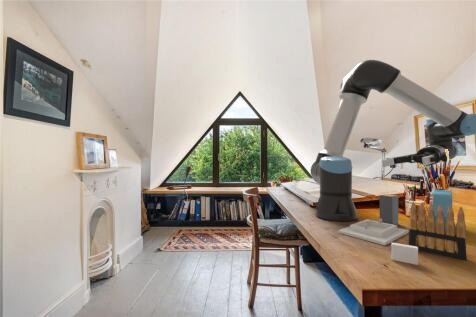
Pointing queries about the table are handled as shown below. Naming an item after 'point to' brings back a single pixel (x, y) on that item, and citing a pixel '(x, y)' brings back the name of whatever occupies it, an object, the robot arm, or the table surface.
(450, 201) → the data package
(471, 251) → the table surface
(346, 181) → the robot arm
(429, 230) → the ammunition clip
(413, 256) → the eraser
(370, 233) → the dock tray
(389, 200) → the grey upright block
